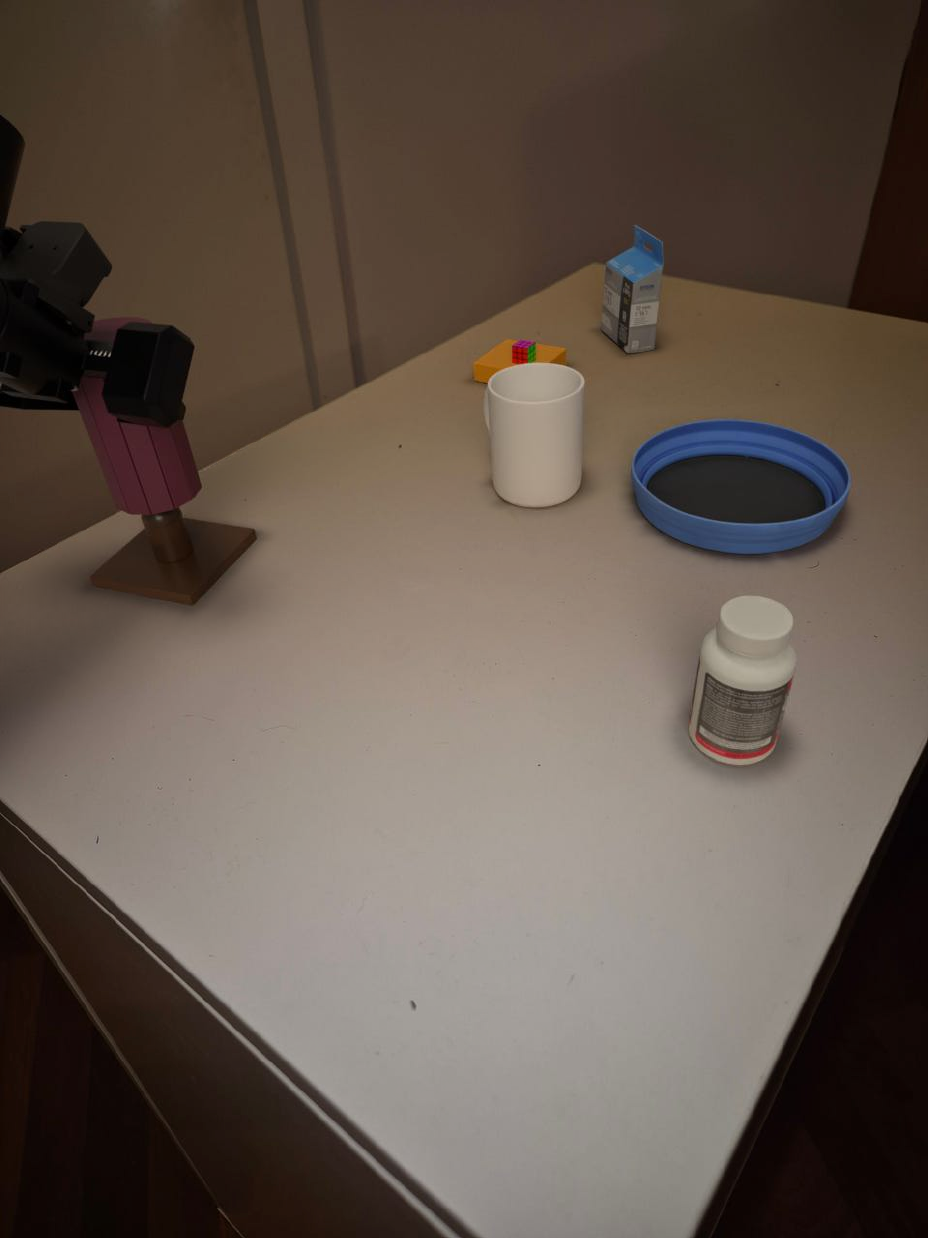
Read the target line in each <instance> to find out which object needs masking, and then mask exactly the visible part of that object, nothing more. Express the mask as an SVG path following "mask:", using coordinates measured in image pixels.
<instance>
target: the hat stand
mask: <svg viewBox="0 0 928 1238" xmlns="http://www.w3.org/2000/svg"><path fill="white" fill-rule="evenodd" d="M141 522H142V525H143V527H144V528H143V529H142V530H141V531H140V532H139V533H137V535H135V536H134V537H133V538H132V539H131V540H130V541H129V542H127V543H126V544H125V545H123V547H122V548H121V549H119V550H117V552H116V553H115V554H114V555H112V556H111V557H110V558H109V559H107V561H105V562H104V563H103V564H102V565H101V566H100V567H99V568H98V569H95V571H94V572H93V573H91V574H90V575H89V579H90V581H91V584H92V586H93V587H98V588H104V589H108V590H113V591H119V592H123V593H129V594H133V595H138V596H143V597H149V598H154V599H158V600H163V601H169V602H173V603H178V604H184V605H190V606H193V605H195V603H197V601H199V599H200V598H202V596H203V595H204V594H205V593H206V592H207V591H208V590H209V589H210V588H211V587H212V586H213V585H214V584H215V582H216V581H218V579H219V578H220V577H221V576H222V575H223V574H224V573H226V571H228V569H229V568H230V567H231V566H232V565H233V564H234V563H235V562H236V561H237V559H239V557H241V555H242V554H243V553H245V551H246V550H247V549H248V548H249V547H250V546H251V545H252V544H253V543H254V542H255V541H256V540H257V537H258V535H257V533H256V529H255V528H250V527H246V526H245V527H243V526H237V525H231V524H225V523H219V522H213V521H207V520H200V519H194V518H187V517H184V515H183V512H182V509H181V508H180V507H178V508H176V509H175V508H174V510H170V511H166V512H162V513H158V514H154V515H152V514H151V515H141Z"/></svg>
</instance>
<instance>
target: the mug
mask: <svg viewBox="0 0 928 1238" xmlns="http://www.w3.org/2000/svg"><path fill="white" fill-rule="evenodd" d="M585 384H586V383H585V378H584V376H583V375H582V374H581V372H579V371H578V370H576V369H574V368H573V367H570V366H567V365H566V366H563V365H559V364H552V363H527V364H520V365H515V366H511V367H508V368H505V369H503V370H501V371H499V372H497V373H495V374H494V375H493V376H492V377H491V378H490V380H489V382H488V383H487V387H486V389H485V391H484V394H483V401H482V409H483V418H484V422H485V423H484V424H485V426H486V429H487V432H488V434H489V441H490V442H489V444H490V461H491V464H490V465H491V466H490V467H491V479H492V485H493V488H494V491H495V492H496V493H497V495H498V496H499V497H500V498H502V499H503V501H505V502H508V503H509V504H513V505H515V506H519V507H523V508H532V509H533V508H536V509H537V508H547V507H552V506H556V505H559V504H562V503H564V502H566V501H568V500H570V499H571V498H572V497H574V495H575V494H576V493H577V492H578V490H579V489H580V487H581V482H582V475H583V455H584V454H583V451H584V449H583V448H584V420H585V419H584V417H585V415H584V414H585V412H584V411H585Z"/></svg>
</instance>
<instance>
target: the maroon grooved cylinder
mask: <svg viewBox="0 0 928 1238" xmlns="http://www.w3.org/2000/svg"><path fill="white" fill-rule="evenodd" d="M129 322H140V323H152V324H154V323H153V322H152V321H151V320H149V319H146V318H143V317H136V316H120V317H119V316H117V317H110V318H104V319H98V320H94V322H93V327H92V331H91V333H85V336H84V339H85V340H95V341H106V342H114V340H115V336H116V332H117V329H118V328H119V327H121V326H123V325H125V324H127V323H129ZM104 382H105V379H100V378H91V377H82V378H81V379H80V386H79V389H78V390H77V391H75V392H74V391H72V393H73V395H74V398H75V401H76V403H77V406H78V409H79V411H78V412H79V414H80V416H81V419H82V422H83V424H84V427H85V430H86V432H87V435H88V437H89V440H90V442H91V445H92V448H93V450H94V453H95V456H96V458H97V461H98V464H99V467H100V469H101V471H102V474H103V477H104V479H105V482H106V485H107V488H108V490H109V493H110V495H111V498H112V501H113V503H114V506H115V508H116V509H118V510H120V511H122V512H124V513H126V514H128V515H131V516H133V515H135V516H142V515H151V514H152V515H154V514H158V513H162V512H166V511H170V510H174V508H175V509H176V508H178V507H179V508H180V507H182V506H184V505H185V504H188V503H189V502H191V501H193V500H194V499H195V498H196V496H197V495H198V494H199V492H200V491H201V490H202V488H203V484H202V481H201V478H200V475H199V471H198V468H197V465H196V461H195V458H194V455H193V451H192V448H191V444H190V441H189V438H188V434H187V431H186V428H185V423H184V420H183V421H177V422H175V423H174V424H173V425H172V426H170V427H169V428H164V427H156V426H143V425H135V424H128V423H120V422H117V417H115V416H113V415H111V414H109V413H108V411H107V408H106V406H105V403H104V400H103V397H102V395H101V394H102V390H103V386H104Z"/></svg>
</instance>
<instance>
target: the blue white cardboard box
mask: <svg viewBox="0 0 928 1238" xmlns="http://www.w3.org/2000/svg"><path fill="white" fill-rule="evenodd" d="M645 243H646V244H648V243H649V246H650V247H652V250H653V251H652V250H651V249H649V248H647V247H646V246H645ZM664 264H665V261H664V242H663V241H662V240H660V239H659V238H657V237H656V236H654V235H653V234H651V233H650V232H648V231H646V230H644V229H643V228H641V227H639V226H638V225H636V224H634V225H633V246H631V247H629V248H628V249H626V250H625V251H623V252H622V253H620V254H618V255H616V256H614V257H613V258H611V259H610V260H608V261H607V262H605V269H604V270H605V271H604V284H603V298H602V310H601V311H602V312H601V323H600V330H601V331H602V332H603V333H604V334H606V335H607V336H608V337H609V338H610V339H611V340H612V341H613V342H614V343H616V344H617V345H618V346H619V347H620V348H621V349H622V350H623V351H625V352H626V353H627V354H632V353H633V354H634V353H642V352H643V353H644V352H649V351H654V350H655V347H656V337H657V336H656V335H657V326H658V318H659V309H660V299H661V289H662V279H663V272H664V266H665V265H664Z"/></svg>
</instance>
